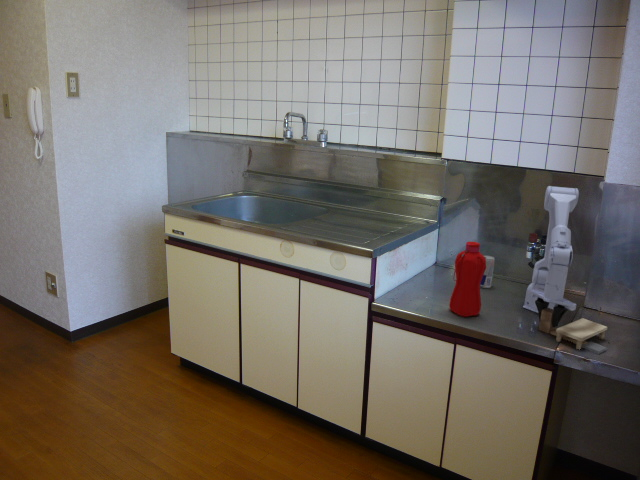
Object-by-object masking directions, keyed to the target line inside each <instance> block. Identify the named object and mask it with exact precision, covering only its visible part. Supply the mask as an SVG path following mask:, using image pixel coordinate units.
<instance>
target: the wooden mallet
mask: <svg viewBox="0 0 640 480" xmlns="http://www.w3.org/2000/svg"><path fill="white" fill-rule="evenodd" d="M553 318H554V310H553V309H551V308H545V309H542V312H541V318H540V322H539V323H538V324H539V326H538V330H539V331H540V332H544V333H545V334H547V335H549V334H551V335H553V336H555V337H557V332H556V329H557V328H556V327H552V323H553ZM562 338H563V339H562ZM561 339H562V340H566V341H567V340H568V341H567V342H570V341H571V343H572V342H573V344H575V345H576V344H577V340H576V339H573V338H571V337H568V336H566V335H563V334H562V337H561ZM588 342H589V341H586V340H584V341H582V345H583V344H586V343H588Z"/></svg>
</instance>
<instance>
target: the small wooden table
mask: <svg viewBox="0 0 640 480" xmlns="http://www.w3.org/2000/svg"><path fill="white" fill-rule="evenodd" d="M555 329H556V332H557V336H555V337H556V338H555V342H558V343H561V342H562V338H561V337H562V334H563V335H566V336H568V337H571V338H573V339H576V340H577V344H575V350H577V349H579V350H578V351H581V350H582V341H586V340H588V339H590V338H592V337H594V336H596V335H598V339H600V340H604V339H605V335H606V331H607V330H608V326H606V325H603V324H601V323H598V322H594V321H592V320H589V319H586V318H584V317H582V318H579V319H577V320H575V321H573V322H570V323H567V324H565V325H562V326H560V327H558V328H555ZM580 349H581V350H580Z"/></svg>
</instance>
